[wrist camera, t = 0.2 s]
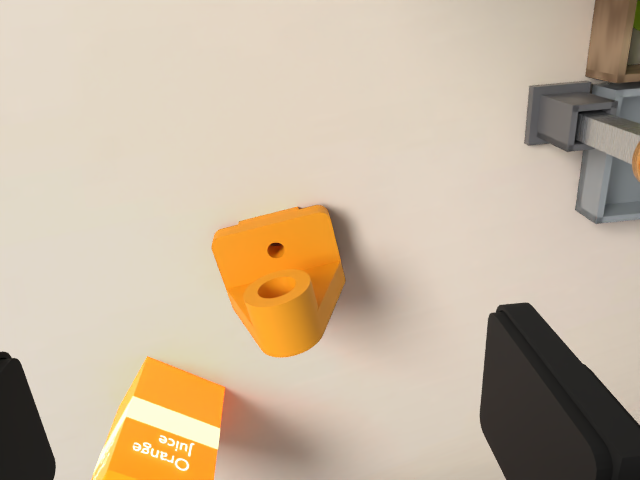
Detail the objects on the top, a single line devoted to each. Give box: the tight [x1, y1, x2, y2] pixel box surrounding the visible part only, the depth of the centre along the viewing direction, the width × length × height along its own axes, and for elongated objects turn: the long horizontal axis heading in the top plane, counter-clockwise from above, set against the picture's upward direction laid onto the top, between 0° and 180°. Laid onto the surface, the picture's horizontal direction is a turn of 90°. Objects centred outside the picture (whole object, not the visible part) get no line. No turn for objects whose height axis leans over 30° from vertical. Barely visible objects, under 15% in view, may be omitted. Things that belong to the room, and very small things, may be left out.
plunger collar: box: [524, 81, 618, 152], centre depth 44 cm, size 5×5×6 cm
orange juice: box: [92, 356, 225, 480], centre depth 46 cm, size 8×9×20 cm
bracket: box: [212, 205, 346, 357], centre depth 44 cm, size 11×7×12 cm, turn 103°
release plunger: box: [575, 110, 640, 182], centre depth 38 cm, size 4×4×13 cm
